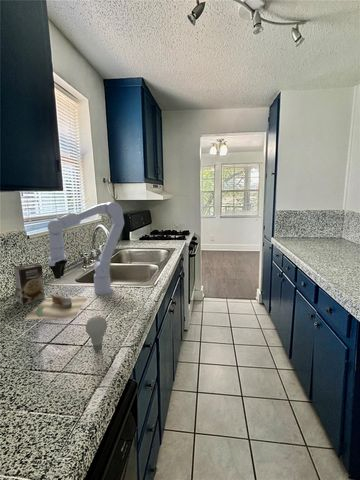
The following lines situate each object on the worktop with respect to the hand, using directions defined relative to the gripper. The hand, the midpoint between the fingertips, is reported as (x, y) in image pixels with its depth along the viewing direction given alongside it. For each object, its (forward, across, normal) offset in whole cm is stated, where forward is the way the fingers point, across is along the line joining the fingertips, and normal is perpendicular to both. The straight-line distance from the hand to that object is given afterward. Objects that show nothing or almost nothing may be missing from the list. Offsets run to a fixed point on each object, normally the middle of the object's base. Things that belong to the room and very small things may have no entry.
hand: (59, 277), depth 112 cm
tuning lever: (+9, +8, +3) cm, 12 cm away
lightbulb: (+11, +40, +25) cm, 48 cm away
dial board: (+10, +10, +3) cm, 15 cm away
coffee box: (+11, +1, -12) cm, 16 cm away
